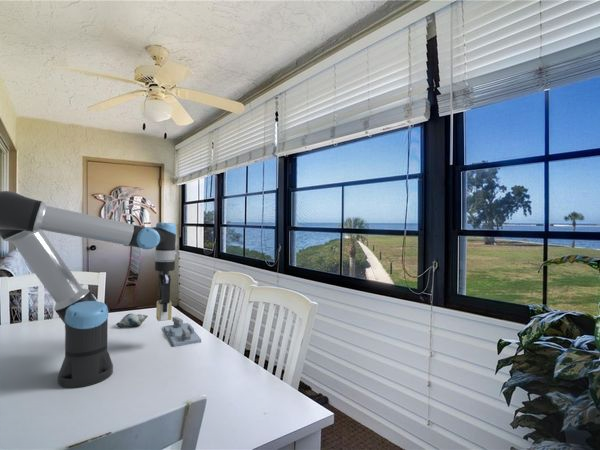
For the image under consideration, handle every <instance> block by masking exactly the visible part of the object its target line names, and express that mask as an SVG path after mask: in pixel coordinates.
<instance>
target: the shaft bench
mask: <svg viewBox="0 0 600 450" xmlns="http://www.w3.org/2000/svg"><path fill="white" fill-rule="evenodd" d="M171 321H172V322H173V324H171V325H170V324H169V325H164V326H163V330H164V331H165V333H166V335H167V337H168V338H169V340H170V343H171V344H172V346H173V347H174V348H175V347H180V346H186V345H187V346H188V345H192V344H198V343H199V344H200V343H202V339H201V336H199V334H198V333H197V332H196V331H195V328H194V327H193V326H192V324H191V323H188V322H185V323H184V320H183V319H182V318H180V317H178V316H173V317H172V316H171Z"/></svg>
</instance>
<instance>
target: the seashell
mask: <svg viewBox="0 0 600 450" xmlns="http://www.w3.org/2000/svg"><path fill="white" fill-rule="evenodd" d="M148 317H149V316H148V315H146V314H141V313H140V314H135V313H128V314H126V315H124V316H123V317H122V319H121V320H120V321H118V322H117V323H116V324H115V326H117V327H119V328H120V327H121V328H122V327H128V326H129V327H131V328H138V327H140V326H141V325H142V324H143V323H144V321H145V320H146V319H147V318H148Z"/></svg>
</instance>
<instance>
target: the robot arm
mask: <svg viewBox="0 0 600 450" xmlns="http://www.w3.org/2000/svg"><path fill="white" fill-rule="evenodd" d="M44 231H46V232H50V233H56V234H63V235H67V236H72V237H73V236H74V237H79V238H85V239H90V240H94V241H95V240H96V241H101V242H106V243H107V242H108V243H113V244H116V245H117V244H118V245H123V246H124V247H131V248H132V247H134V248H139V249H143V250H147V251H149V250H153V249H155V251H154V253H155V254H154V260H155V262H154V270H155V271H156V272H160V273H159V274H158V296H157V298H158V301H161V300H162V302H161V303H160V304H161V318H160V320H165V321H169V320H168V304H169V303H170V301H171V298H170V297H171V295H170V294H171V280H172V278H171V274H170V272H172V271H175V266H176V265H175V264H176V261H175V260H176V255H177V254H178V253H177V252H176V239H177V226H176V224H175V223H173V222H157V223H156V225H155V227H154V226H153V227H146V226H141V225H137V224H133V223H127V222H123V221H118V220H115V219H110V218H104V217H100V216H97V215H96V216H95V215H90V214H88V213H87V214H86V213H82V212H78V211H72V210H68V209H65V208H64V209H63V208H58V207H53V206H50V205H46V203H45V201H42V200H37V199H34V198H30V197H26V196H24V195H22V194H20V193H17V192H14V191H9V190H0V237H1V239H2V240H3V242H8V243H12V244H13V245H14V246H15V249H16V250H17V251H18V252H19V254H20V255H21V257H22V258H23V259H24V260H25V262H26V263H27V265H28V266H29V267H30V269H31V271H33V273H34V274H35V276H36V277H37V278H38V280H39V281H40V283H41V284H42V286H44V288H45V289H46V291H47V292H48V294H49V295H50V297H52V299H53V301H54V302H55V306H54V309H53V310H54V312H55V313H56V314H57V315H58V317H59V318H60V319H61V320H62V321H61V322H63V324H64V332H65V333H64V335H65V336H64V337H65V338H64V358H63V361H62V364H61V366H60V369H59V372H58V375H57V384H58V385H59V386H60V387H64V388H72V389H73V388H81V387H82V388H84V387H87V386H91V385H95V384H98V383H101V382H102V381H105V380H106V379H108V378H110V377H111V376H112V375H113V373H114V364H113V361H112V359H111V355H110V353H109V350H108V332H109V331H108V318H109V309H108V305H107V304H106V303H105V302H102V301H98V300H97V299H96V298H95V296H94V295H93V293H92V292H91V291H90V289H89V288H82V286H81V285H80V283H79V282H78V280H77V279H76V278H75V275H74V274H73V273H72V272H71V270H70V269H69V266H68V265H67V264H66V263H65V262H64V260H63V258H62V257H61V255H60V254H59V252H58V250H56V248H55V247H54V245H53V244H52V242H51V240H50V239H49V238H48V236H47V235H46V233H45V232H44Z"/></svg>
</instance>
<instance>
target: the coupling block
mask: <svg viewBox="0 0 600 450" xmlns="http://www.w3.org/2000/svg"><path fill="white" fill-rule="evenodd" d="M161 302H162V300H161V301H160V300H157V301H156V312H155V314H156V316H155V317H156V320H157V322H163V321H166V320H160V318H161V304H160V303H161ZM172 304H173V303H172V301H171V300H170V303H169V304H168V320H167V321H172V306H173V305H172Z"/></svg>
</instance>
